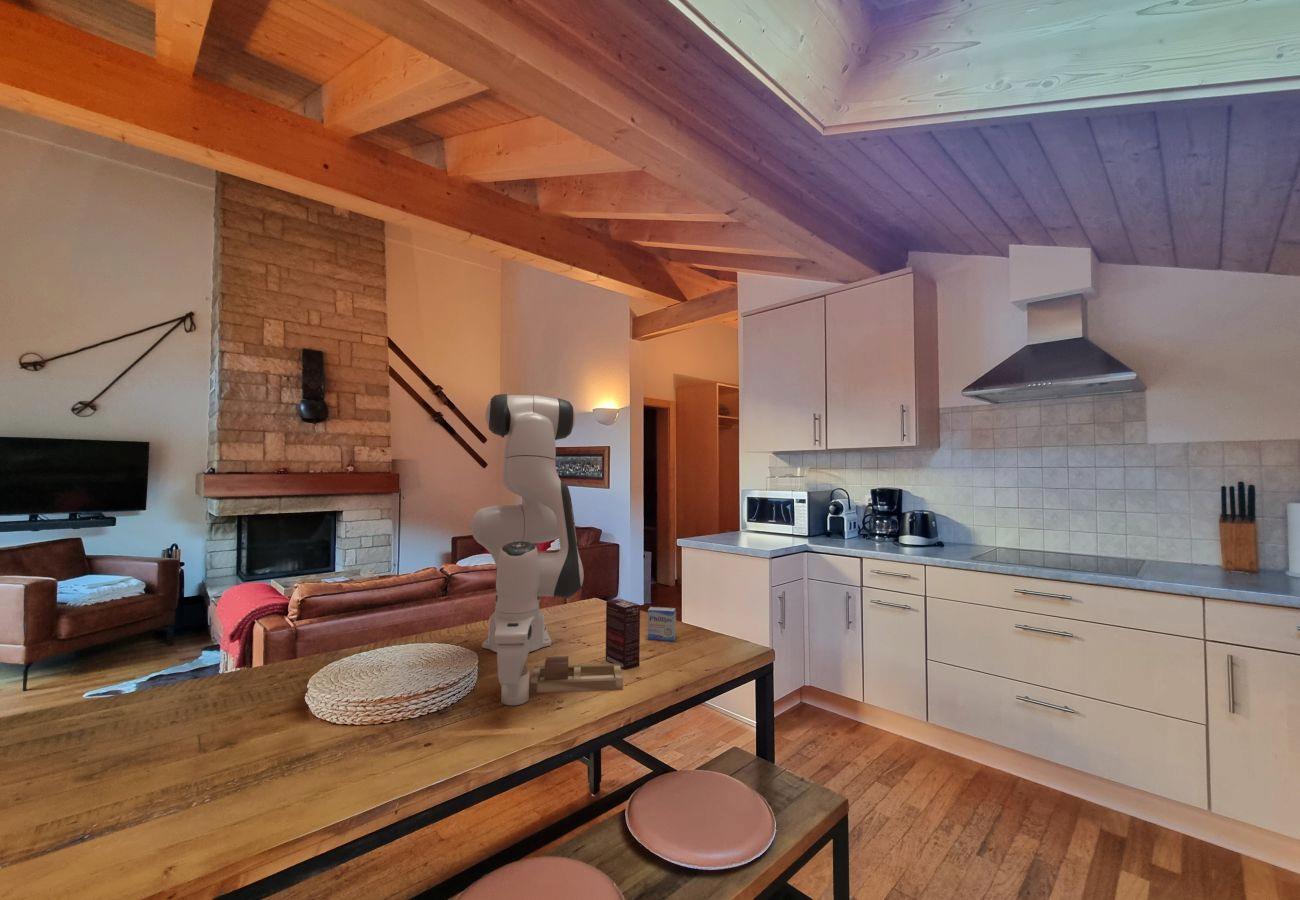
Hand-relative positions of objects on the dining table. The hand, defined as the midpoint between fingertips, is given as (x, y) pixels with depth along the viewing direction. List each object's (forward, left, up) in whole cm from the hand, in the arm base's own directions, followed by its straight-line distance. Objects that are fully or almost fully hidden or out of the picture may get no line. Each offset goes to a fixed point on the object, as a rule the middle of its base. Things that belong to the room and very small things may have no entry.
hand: (515, 688), depth 109 cm
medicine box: (-40, +37, -4) cm, 55 cm away
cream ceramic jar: (0, 0, -2) cm, 2 cm away
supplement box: (-19, +24, -4) cm, 31 cm away
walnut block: (-8, +8, -2) cm, 12 cm away
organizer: (-8, +13, -3) cm, 16 cm away
